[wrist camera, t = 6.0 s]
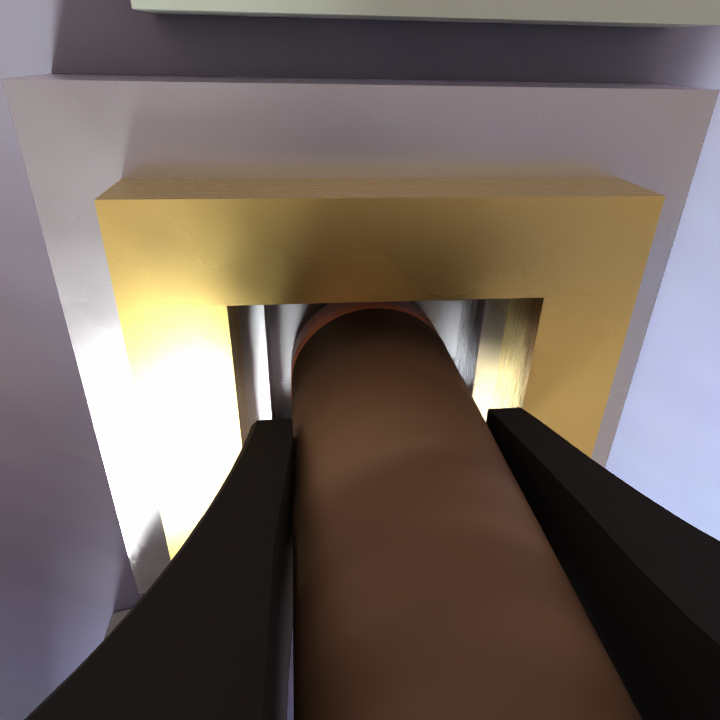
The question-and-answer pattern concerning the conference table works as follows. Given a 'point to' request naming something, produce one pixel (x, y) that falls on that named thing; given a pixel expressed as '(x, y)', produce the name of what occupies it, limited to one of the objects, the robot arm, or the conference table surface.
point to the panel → (316, 140)
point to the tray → (462, 10)
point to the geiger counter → (116, 620)
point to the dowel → (423, 548)
